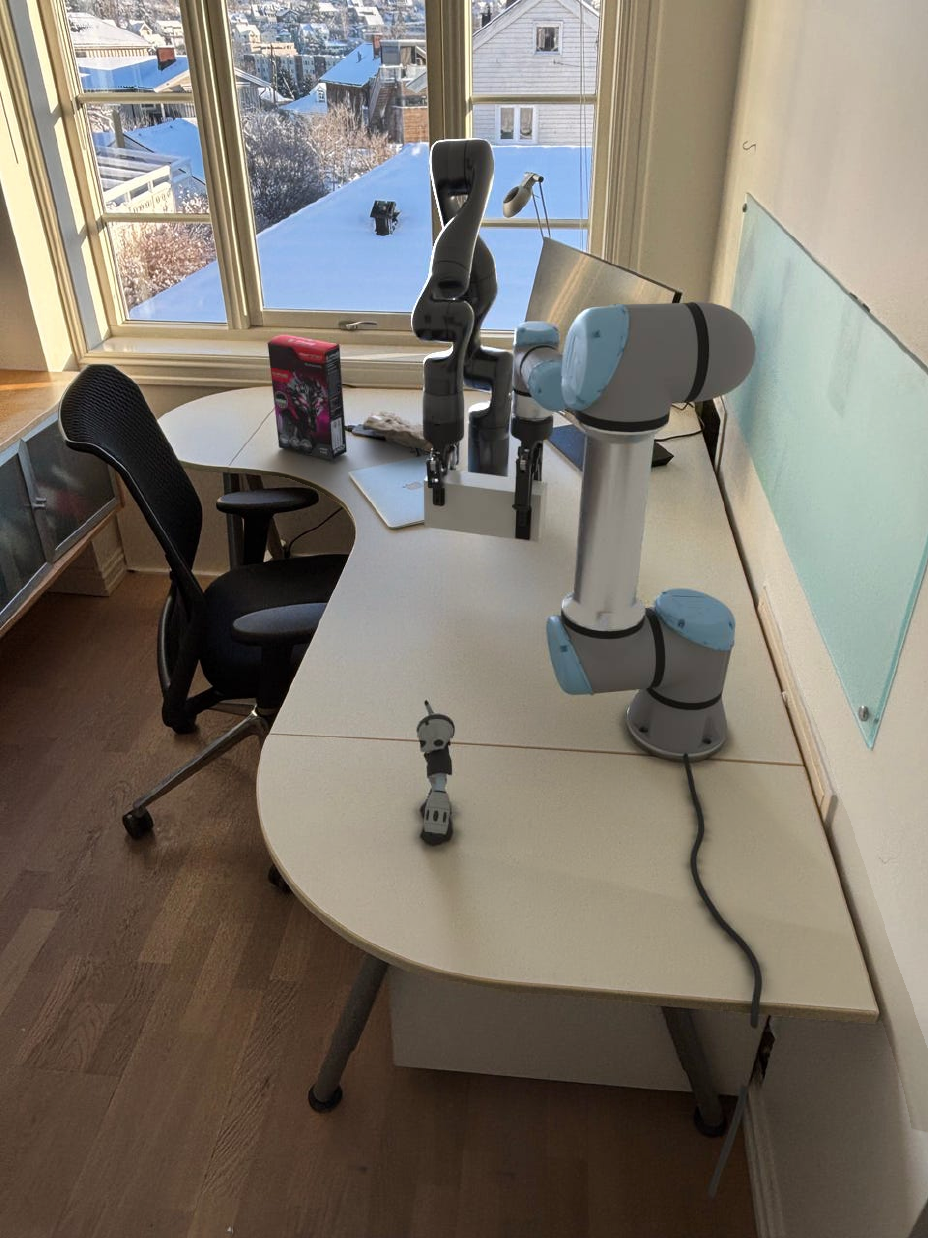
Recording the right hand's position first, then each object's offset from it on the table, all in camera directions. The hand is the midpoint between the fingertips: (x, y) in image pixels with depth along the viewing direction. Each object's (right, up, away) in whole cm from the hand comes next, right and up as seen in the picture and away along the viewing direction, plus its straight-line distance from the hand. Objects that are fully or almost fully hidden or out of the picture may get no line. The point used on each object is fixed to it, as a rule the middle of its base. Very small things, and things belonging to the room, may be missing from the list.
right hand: (526, 530), depth 174 cm
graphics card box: (-50, +25, +56) cm, 79 cm away
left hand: (-16, +6, +1) cm, 17 cm away
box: (-8, +1, +2) cm, 8 cm away
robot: (-16, -45, -48) cm, 68 cm away
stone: (-28, +29, +62) cm, 74 cm away
